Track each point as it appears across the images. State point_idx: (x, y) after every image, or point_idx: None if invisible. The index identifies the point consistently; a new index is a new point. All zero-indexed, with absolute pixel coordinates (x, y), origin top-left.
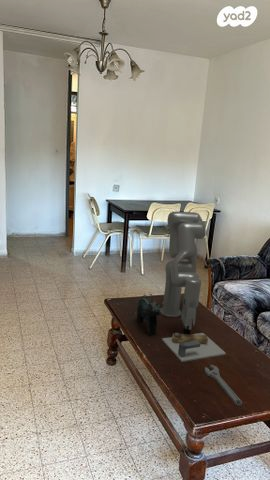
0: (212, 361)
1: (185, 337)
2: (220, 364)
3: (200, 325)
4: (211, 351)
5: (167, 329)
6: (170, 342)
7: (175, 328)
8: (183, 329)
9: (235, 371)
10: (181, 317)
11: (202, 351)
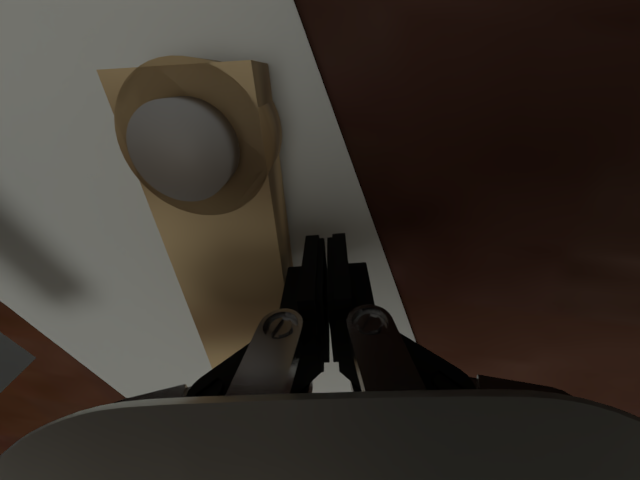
0: (53, 362)
1: (188, 258)
2: (48, 390)
3: (569, 372)
4: (155, 383)
5: (594, 19)
6: (148, 22)
7: (585, 154)
8: (347, 272)
9: (26, 429)
10: (573, 459)
11: (124, 336)
